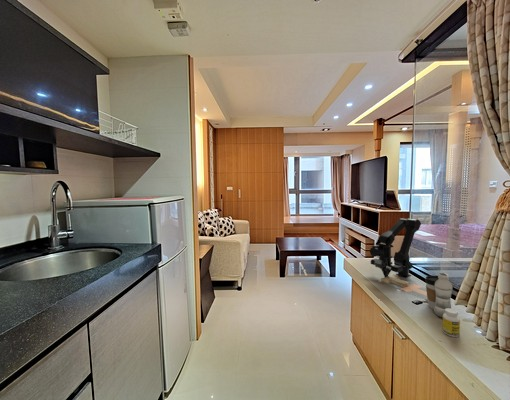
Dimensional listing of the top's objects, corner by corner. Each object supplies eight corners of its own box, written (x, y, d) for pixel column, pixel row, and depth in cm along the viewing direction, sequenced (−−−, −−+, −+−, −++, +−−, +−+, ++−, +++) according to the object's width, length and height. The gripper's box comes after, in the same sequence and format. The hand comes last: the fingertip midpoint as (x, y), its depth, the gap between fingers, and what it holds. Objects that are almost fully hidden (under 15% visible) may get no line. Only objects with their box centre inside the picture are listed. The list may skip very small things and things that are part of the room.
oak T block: (393, 277, 151) (393, 274, 151) (412, 284, 141) (412, 281, 141) (381, 281, 146) (381, 278, 146) (400, 288, 136) (400, 285, 135)
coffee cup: (450, 312, 111) (450, 281, 110) (430, 310, 113) (430, 280, 112) (440, 303, 119) (440, 274, 118) (421, 302, 121) (421, 274, 120)
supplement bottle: (452, 338, 93) (453, 315, 92) (439, 330, 98) (439, 308, 97) (463, 336, 94) (463, 312, 93) (449, 328, 99) (449, 306, 98)
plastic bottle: (430, 312, 111) (430, 272, 110) (444, 312, 111) (445, 271, 110) (440, 320, 105) (441, 277, 103) (456, 320, 104) (456, 277, 103)
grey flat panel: (390, 276, 154) (390, 275, 154) (442, 294, 128) (442, 293, 128) (376, 281, 148) (376, 280, 148) (427, 300, 122) (427, 300, 122)
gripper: (364, 252, 154) (364, 275, 155) (391, 260, 137) (391, 286, 138) (376, 250, 158) (376, 272, 160) (403, 257, 142) (403, 282, 143)
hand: (385, 277), depth 150 cm, fingers closed
